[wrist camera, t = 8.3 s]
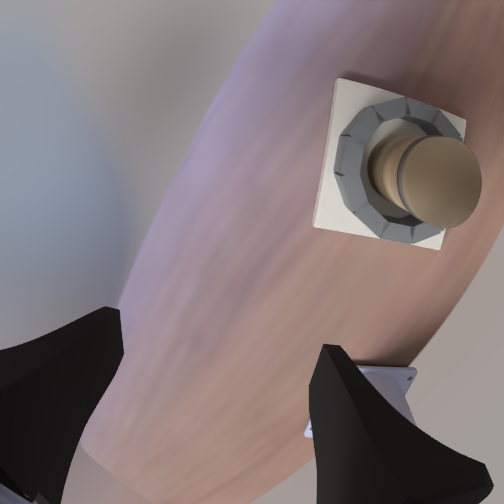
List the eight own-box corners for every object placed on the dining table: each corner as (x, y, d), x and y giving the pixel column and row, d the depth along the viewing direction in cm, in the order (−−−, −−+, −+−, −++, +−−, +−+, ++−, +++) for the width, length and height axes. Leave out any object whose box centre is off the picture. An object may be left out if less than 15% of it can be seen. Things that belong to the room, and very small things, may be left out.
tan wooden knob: (416, 209, 17) (467, 239, 12) (358, 192, 17) (396, 216, 12) (432, 147, 16) (490, 155, 10) (374, 126, 16) (419, 121, 10)
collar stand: (433, 245, 19) (453, 261, 16) (311, 222, 19) (318, 236, 16) (458, 120, 16) (483, 119, 13) (335, 80, 16) (346, 70, 13)
